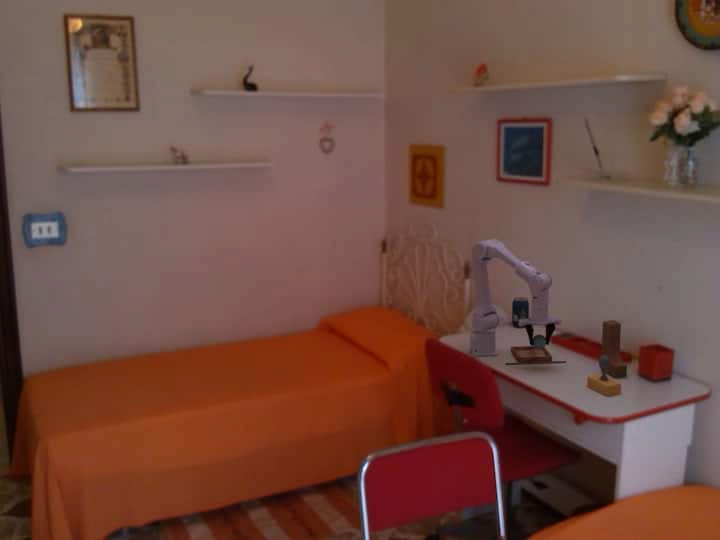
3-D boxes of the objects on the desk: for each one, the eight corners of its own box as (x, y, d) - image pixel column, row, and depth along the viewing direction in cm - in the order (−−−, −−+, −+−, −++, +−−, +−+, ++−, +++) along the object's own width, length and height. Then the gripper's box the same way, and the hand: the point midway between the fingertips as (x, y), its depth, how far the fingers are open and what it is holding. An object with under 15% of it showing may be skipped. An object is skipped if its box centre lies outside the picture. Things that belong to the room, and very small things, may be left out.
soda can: (518, 322, 307) (519, 296, 304) (532, 326, 302) (532, 298, 299) (508, 326, 303) (508, 299, 300) (521, 329, 297) (522, 302, 295)
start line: (506, 365, 257) (506, 364, 257) (505, 363, 259) (505, 363, 258) (566, 362, 257) (566, 362, 257) (565, 361, 258) (565, 360, 258)
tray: (517, 362, 260) (517, 357, 259) (510, 351, 272) (510, 346, 271) (551, 361, 259) (552, 356, 259) (543, 349, 272) (543, 345, 271)
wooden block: (626, 377, 241) (629, 326, 237) (615, 378, 240) (617, 328, 236) (612, 368, 250) (614, 319, 246) (600, 369, 249) (602, 320, 245)
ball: (533, 350, 249) (534, 337, 248) (530, 346, 254) (530, 332, 253) (548, 350, 249) (548, 336, 248) (544, 345, 254) (544, 332, 253)
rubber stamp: (586, 386, 235) (587, 352, 233) (600, 383, 237) (601, 349, 235) (607, 397, 226) (608, 361, 224) (621, 393, 228) (622, 358, 226)
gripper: (521, 311, 244) (521, 348, 247) (563, 310, 244) (562, 347, 247) (517, 306, 251) (517, 342, 254) (558, 304, 251) (557, 341, 254)
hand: (539, 344), depth 251 cm, fingers closed on ball, 5 cm apart
